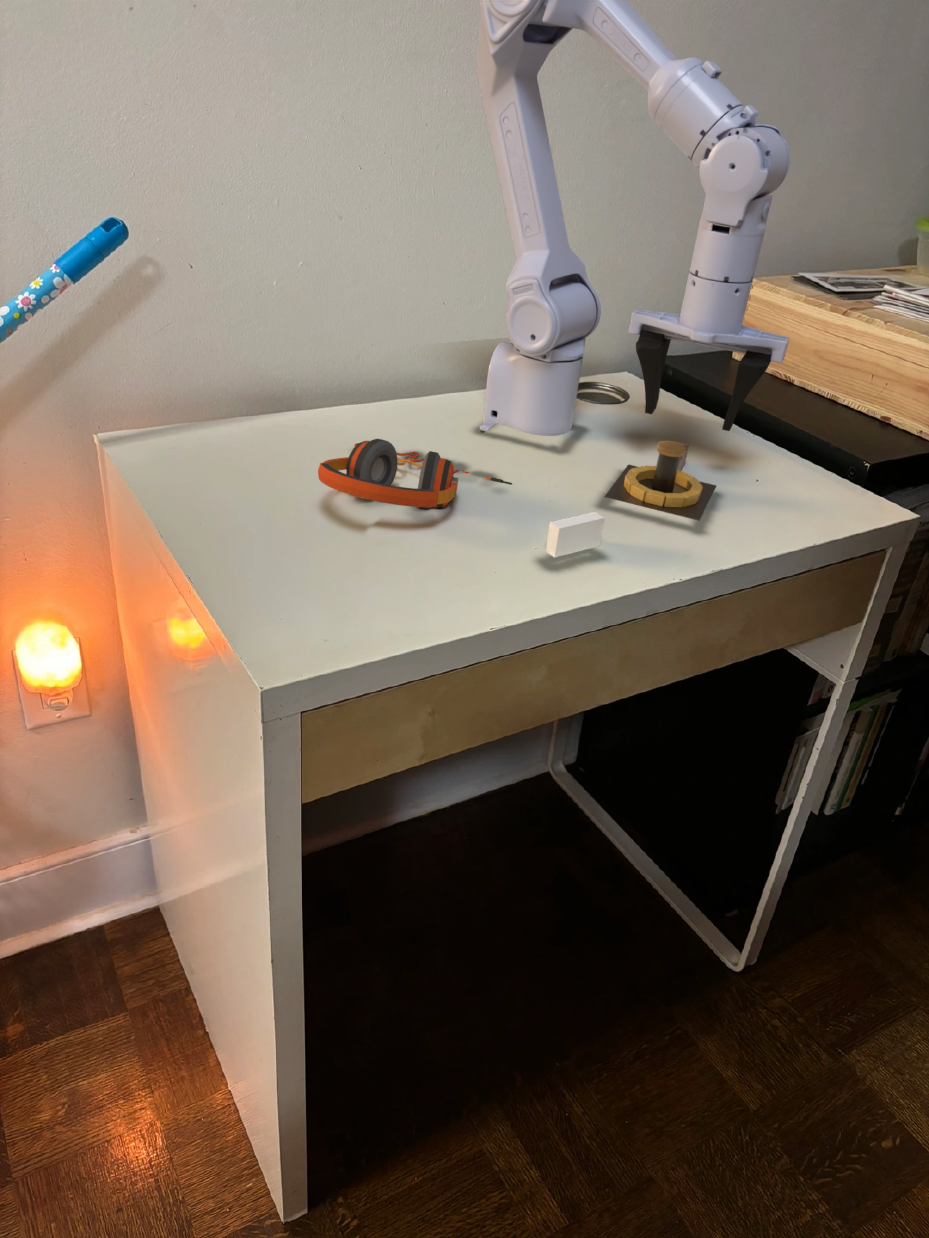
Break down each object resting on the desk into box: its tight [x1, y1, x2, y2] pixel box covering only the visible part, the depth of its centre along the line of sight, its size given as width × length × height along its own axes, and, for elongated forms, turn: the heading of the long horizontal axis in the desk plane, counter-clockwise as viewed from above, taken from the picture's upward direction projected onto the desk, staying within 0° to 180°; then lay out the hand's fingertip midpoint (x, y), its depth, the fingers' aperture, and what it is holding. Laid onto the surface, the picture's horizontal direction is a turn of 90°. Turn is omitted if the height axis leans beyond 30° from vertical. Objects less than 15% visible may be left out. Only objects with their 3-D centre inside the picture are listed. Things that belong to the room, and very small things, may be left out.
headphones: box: [317, 438, 513, 510], centre depth 83 cm, size 17×5×20 cm
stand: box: [604, 440, 717, 522], centre depth 88 cm, size 9×9×6 cm
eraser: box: [545, 511, 606, 558], centre depth 77 cm, size 1×5×4 cm, turn 123°
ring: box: [624, 443, 703, 507], centre depth 90 cm, size 12×7×2 cm, turn 157°
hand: (688, 419), depth 91 cm, fingers open, 7 cm apart
